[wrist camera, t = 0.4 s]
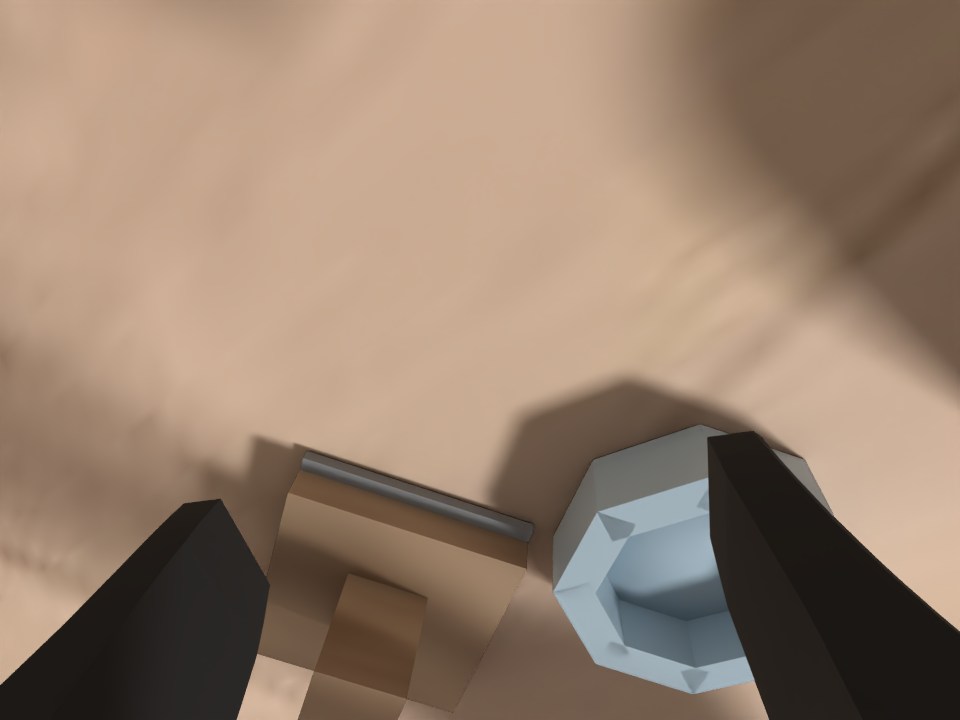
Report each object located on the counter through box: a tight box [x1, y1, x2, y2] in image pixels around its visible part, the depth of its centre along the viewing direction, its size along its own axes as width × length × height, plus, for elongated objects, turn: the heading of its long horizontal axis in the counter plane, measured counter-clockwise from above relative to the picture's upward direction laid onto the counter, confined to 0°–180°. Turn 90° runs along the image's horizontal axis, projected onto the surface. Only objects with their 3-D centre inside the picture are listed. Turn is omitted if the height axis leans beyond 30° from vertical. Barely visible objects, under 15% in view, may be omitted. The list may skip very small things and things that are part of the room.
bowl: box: [553, 424, 834, 694], centre depth 22 cm, size 8×8×2 cm
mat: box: [300, 451, 534, 543], centre depth 25 cm, size 9×8×1 cm
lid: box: [257, 470, 528, 720], centre depth 23 cm, size 8×8×5 cm
